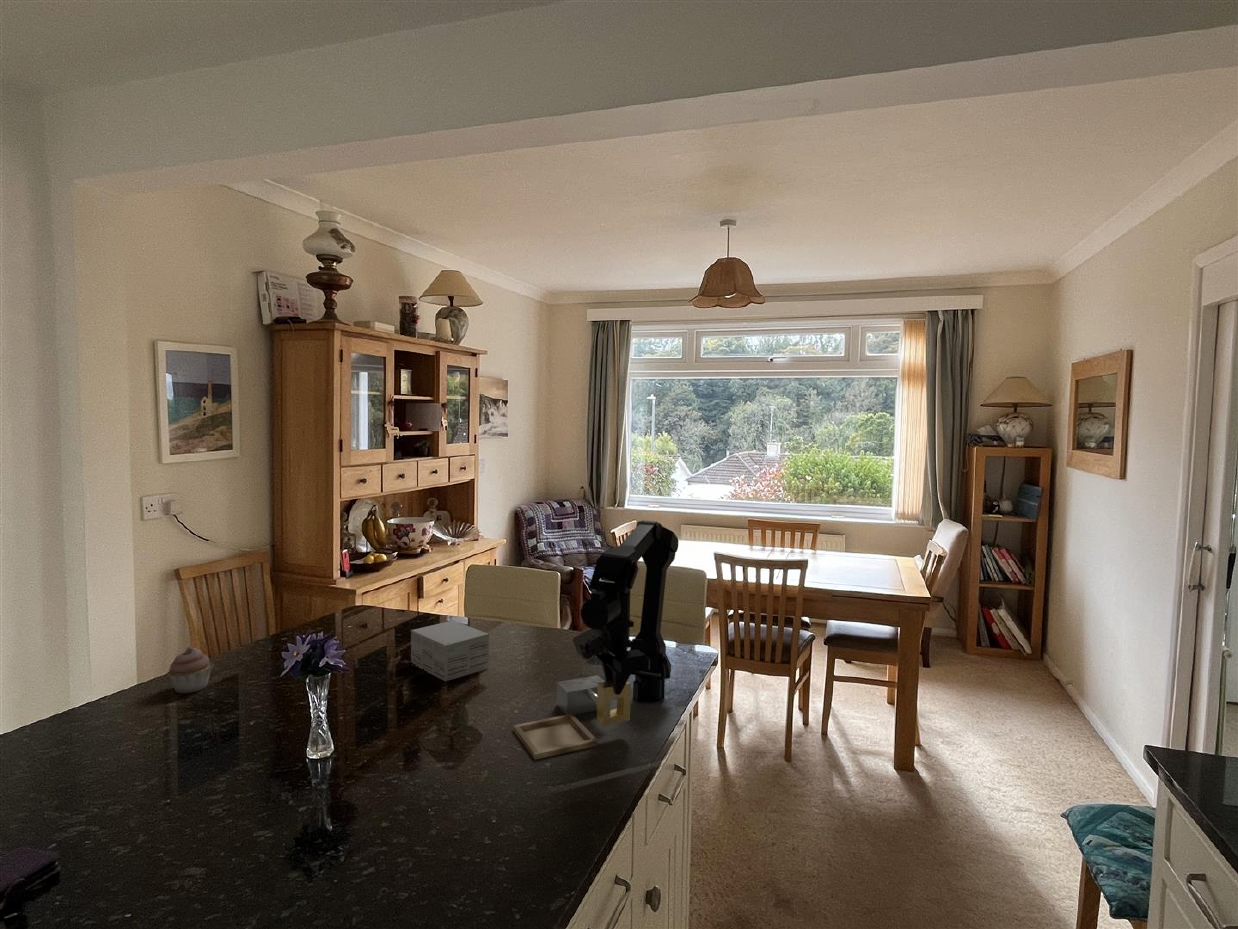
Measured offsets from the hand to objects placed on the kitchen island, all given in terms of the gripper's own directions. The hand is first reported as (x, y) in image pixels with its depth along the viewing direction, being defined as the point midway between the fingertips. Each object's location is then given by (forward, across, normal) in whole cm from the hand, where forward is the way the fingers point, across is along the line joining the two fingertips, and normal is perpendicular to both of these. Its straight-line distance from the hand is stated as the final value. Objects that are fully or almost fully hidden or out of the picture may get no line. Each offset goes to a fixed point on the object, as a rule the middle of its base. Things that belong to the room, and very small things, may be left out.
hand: (614, 691), depth 134 cm
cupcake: (+11, -64, -79) cm, 102 cm away
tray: (+10, -4, -11) cm, 16 cm away
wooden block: (+6, 0, 0) cm, 6 cm away
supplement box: (+11, -54, -21) cm, 58 cm away
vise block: (+10, -12, 0) cm, 16 cm away
